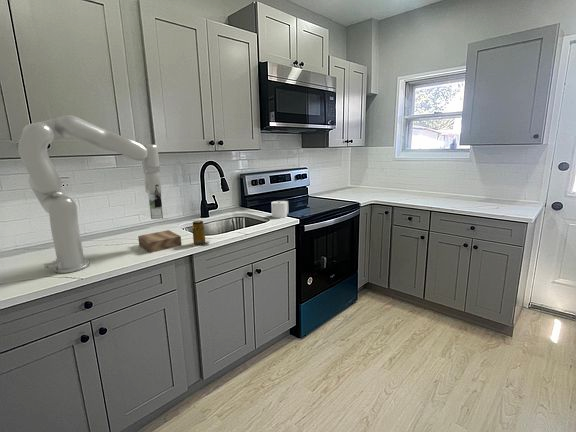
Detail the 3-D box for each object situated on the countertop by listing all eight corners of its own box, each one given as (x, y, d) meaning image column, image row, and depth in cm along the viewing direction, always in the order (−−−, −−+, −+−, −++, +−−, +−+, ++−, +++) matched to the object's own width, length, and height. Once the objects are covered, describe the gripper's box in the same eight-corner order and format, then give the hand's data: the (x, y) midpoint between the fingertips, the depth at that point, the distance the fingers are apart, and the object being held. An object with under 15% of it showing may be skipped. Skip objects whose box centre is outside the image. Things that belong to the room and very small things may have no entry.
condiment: (194, 241, 171) (192, 220, 168) (210, 241, 171) (208, 219, 169) (191, 246, 164) (189, 223, 161) (208, 245, 164) (206, 222, 162)
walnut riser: (149, 252, 155) (148, 243, 153) (139, 245, 166) (138, 236, 165) (181, 245, 165) (180, 236, 164) (169, 238, 176) (168, 230, 175)
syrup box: (163, 216, 166) (160, 188, 163) (163, 218, 160) (160, 189, 157) (151, 217, 164) (147, 189, 160) (151, 219, 158) (147, 190, 155)
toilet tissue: (269, 217, 221) (269, 203, 219) (275, 213, 233) (274, 200, 230) (284, 218, 218) (283, 204, 216) (289, 214, 229) (289, 200, 227)
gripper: (138, 169, 161) (142, 204, 165) (149, 172, 148) (154, 209, 152) (153, 168, 165) (157, 202, 169) (166, 170, 153) (169, 207, 157)
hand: (155, 205), depth 161 cm, fingers closed on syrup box, 7 cm apart
